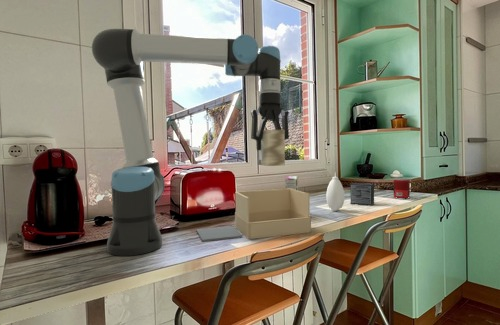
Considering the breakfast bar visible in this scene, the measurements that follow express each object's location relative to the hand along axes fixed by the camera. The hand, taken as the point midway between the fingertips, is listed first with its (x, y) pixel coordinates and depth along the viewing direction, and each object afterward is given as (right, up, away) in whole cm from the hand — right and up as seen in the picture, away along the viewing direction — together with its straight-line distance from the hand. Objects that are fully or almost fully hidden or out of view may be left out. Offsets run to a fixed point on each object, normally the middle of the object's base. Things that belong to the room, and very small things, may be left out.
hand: (270, 159), depth 105 cm
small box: (+50, -22, +46) cm, 72 cm away
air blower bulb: (+32, -23, +31) cm, 50 cm away
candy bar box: (+11, -24, +23) cm, 35 cm away
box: (0, -2, 0) cm, 2 cm away
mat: (-18, -25, -4) cm, 31 cm away
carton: (+1, -25, +1) cm, 25 cm away
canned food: (+78, -21, +63) cm, 102 cm away
